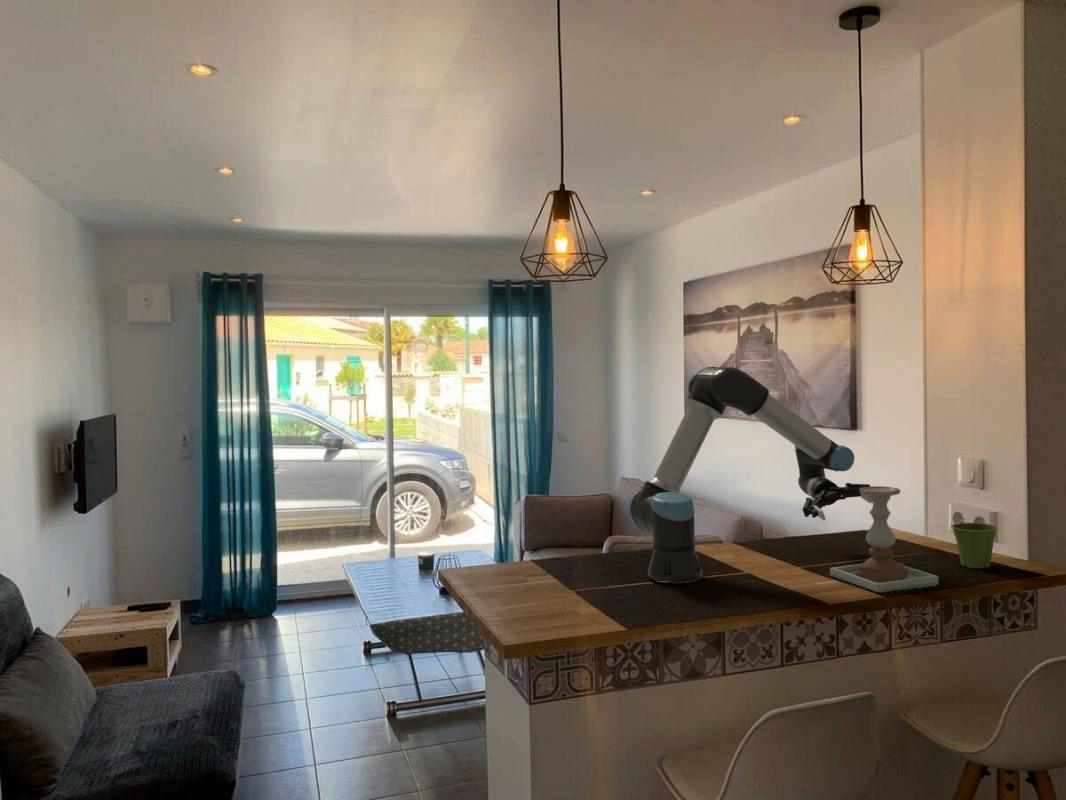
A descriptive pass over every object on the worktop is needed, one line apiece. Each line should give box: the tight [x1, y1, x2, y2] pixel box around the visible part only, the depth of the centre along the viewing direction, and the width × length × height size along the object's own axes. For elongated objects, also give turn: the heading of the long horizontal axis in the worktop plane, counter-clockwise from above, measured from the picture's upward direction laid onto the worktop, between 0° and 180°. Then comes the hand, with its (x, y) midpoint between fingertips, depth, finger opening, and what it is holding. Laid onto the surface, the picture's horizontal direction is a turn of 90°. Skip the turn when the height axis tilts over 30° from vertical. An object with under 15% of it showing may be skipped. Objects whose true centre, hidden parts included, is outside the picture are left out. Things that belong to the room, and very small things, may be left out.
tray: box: [829, 563, 939, 592], centre depth 223 cm, size 19×19×2 cm
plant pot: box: [950, 522, 999, 570], centre depth 234 cm, size 12×12×11 cm
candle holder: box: [855, 485, 908, 583], centre depth 223 cm, size 11×11×24 cm
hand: (846, 507), depth 231 cm, fingers open, 13 cm apart
